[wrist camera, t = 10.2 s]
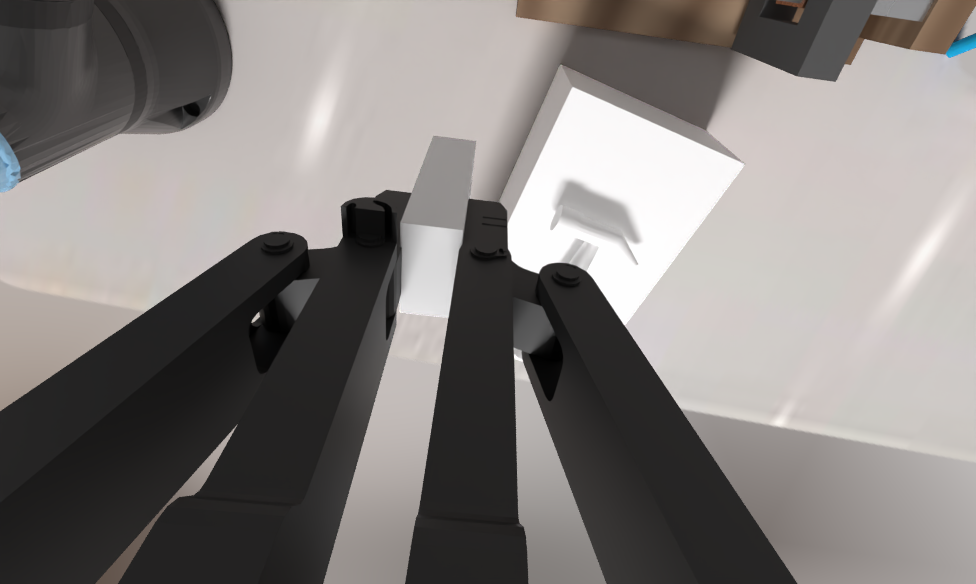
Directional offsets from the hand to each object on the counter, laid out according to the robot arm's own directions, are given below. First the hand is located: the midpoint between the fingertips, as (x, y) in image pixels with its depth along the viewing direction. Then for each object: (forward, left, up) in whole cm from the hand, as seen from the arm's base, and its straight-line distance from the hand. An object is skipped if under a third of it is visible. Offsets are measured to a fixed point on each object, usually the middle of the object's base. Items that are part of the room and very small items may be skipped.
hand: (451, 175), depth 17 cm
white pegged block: (+11, -14, -27) cm, 32 cm away
